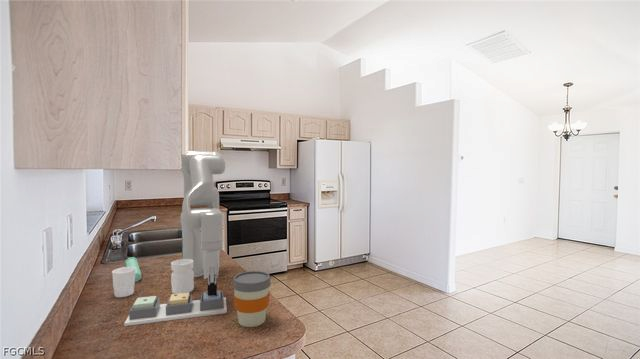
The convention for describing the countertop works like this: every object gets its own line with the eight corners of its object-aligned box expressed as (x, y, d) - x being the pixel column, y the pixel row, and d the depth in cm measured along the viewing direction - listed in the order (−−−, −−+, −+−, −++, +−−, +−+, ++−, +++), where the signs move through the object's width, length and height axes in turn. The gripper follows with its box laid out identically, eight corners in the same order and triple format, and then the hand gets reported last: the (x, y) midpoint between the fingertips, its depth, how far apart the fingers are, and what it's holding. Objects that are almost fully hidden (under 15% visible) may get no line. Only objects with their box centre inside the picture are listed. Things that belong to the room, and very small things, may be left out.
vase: (195, 285, 139) (195, 258, 138) (192, 293, 130) (191, 264, 130) (173, 286, 137) (173, 259, 136) (169, 295, 128) (168, 265, 128)
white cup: (117, 291, 131) (117, 267, 131) (138, 289, 133) (138, 266, 133) (109, 298, 124) (108, 273, 123) (131, 297, 125) (130, 272, 125)
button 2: (171, 300, 115) (171, 294, 115) (189, 298, 117) (189, 292, 117) (169, 307, 110) (169, 300, 110) (188, 305, 112) (188, 298, 112)
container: (139, 268, 142) (134, 254, 162) (125, 276, 139) (122, 260, 159) (145, 279, 143) (140, 264, 164) (131, 287, 140) (127, 270, 161)
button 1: (137, 304, 112) (137, 297, 112) (156, 302, 114) (156, 295, 114) (133, 312, 106) (133, 304, 106) (153, 309, 108) (153, 302, 108)
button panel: (133, 310, 114) (133, 299, 114) (225, 299, 124) (225, 289, 124) (124, 326, 103) (124, 314, 103) (226, 312, 113) (226, 301, 113)
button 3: (203, 298, 119) (203, 291, 119) (220, 296, 121) (220, 290, 121) (203, 305, 113) (203, 298, 113) (220, 303, 115) (220, 296, 115)
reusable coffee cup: (238, 333, 99) (238, 286, 99) (229, 316, 110) (228, 274, 110) (275, 324, 105) (276, 279, 105) (263, 309, 116) (263, 268, 116)
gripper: (201, 241, 122) (202, 288, 123) (200, 250, 108) (200, 304, 108) (222, 240, 124) (222, 286, 125) (223, 249, 110) (223, 301, 111)
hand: (212, 294), depth 117 cm, fingers closed
